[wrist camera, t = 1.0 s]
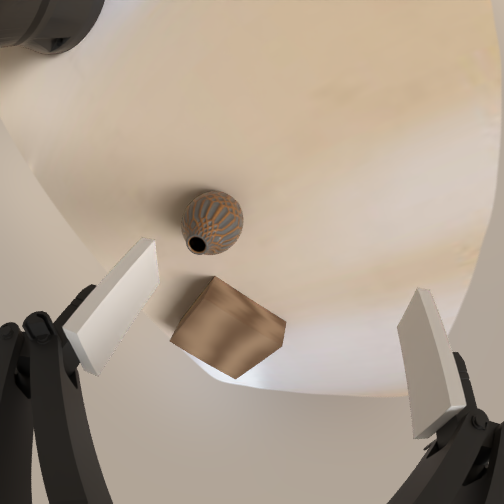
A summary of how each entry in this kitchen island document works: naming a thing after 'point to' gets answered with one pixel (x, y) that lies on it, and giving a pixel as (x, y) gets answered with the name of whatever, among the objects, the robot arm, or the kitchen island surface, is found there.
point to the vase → (212, 223)
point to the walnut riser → (229, 330)
